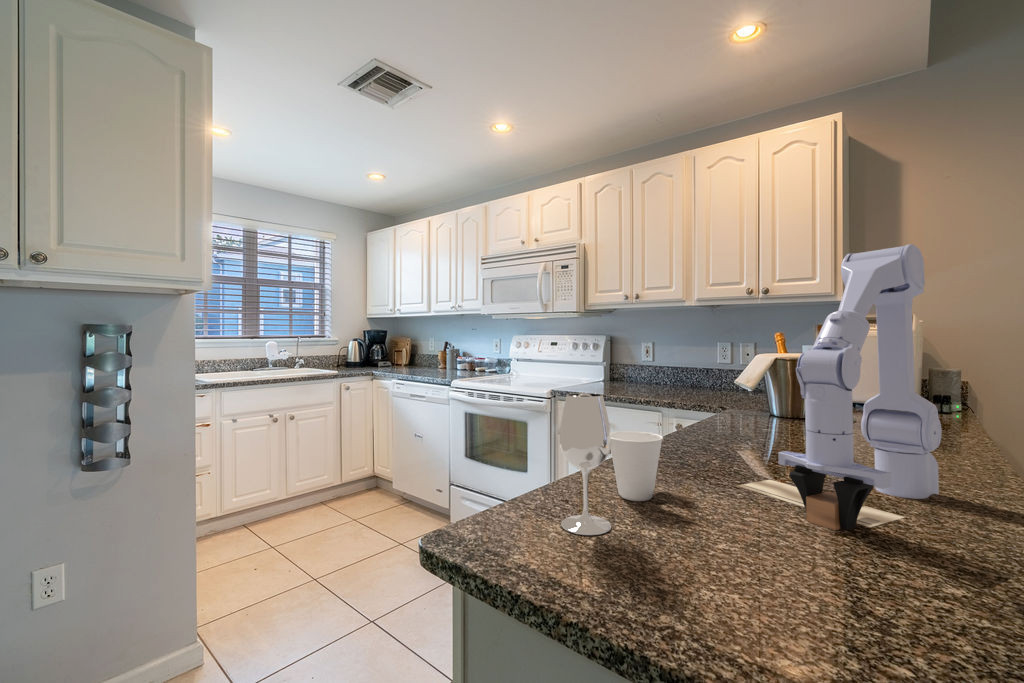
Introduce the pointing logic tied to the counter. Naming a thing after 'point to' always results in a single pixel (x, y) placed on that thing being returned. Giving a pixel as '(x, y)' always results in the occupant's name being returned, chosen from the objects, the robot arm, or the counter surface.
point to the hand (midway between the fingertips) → (830, 525)
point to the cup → (635, 463)
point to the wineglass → (585, 451)
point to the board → (792, 495)
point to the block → (824, 510)
